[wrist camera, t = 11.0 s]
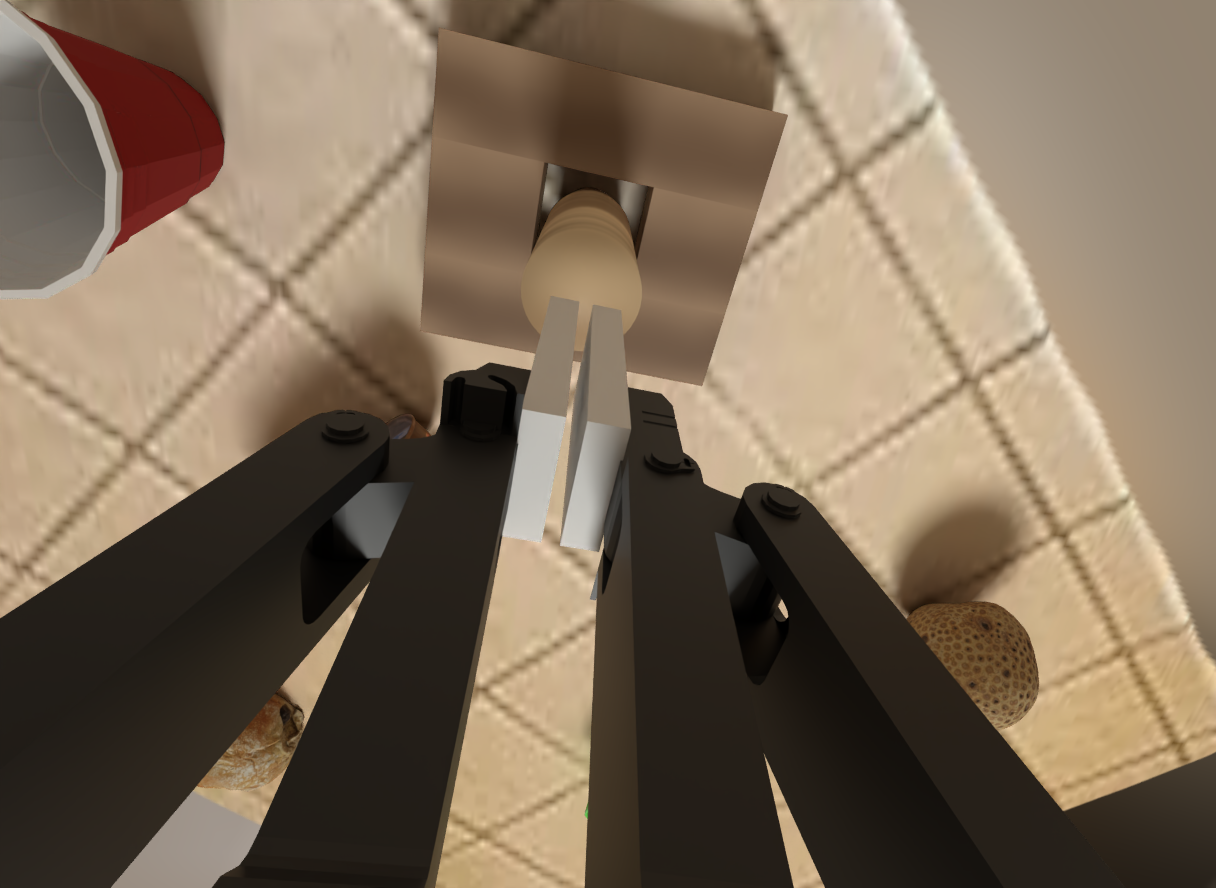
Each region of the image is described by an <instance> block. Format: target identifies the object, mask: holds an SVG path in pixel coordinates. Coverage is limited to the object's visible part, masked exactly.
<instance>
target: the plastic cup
mask: <svg viewBox="0 0 1216 888" xmlns="http://www.w3.org/2000/svg"><path fill="white" fill-rule="evenodd" d="M223 156H224V140H223V136H222V133H221V130H220V126H219V123H218V120H217V117H216V116H215V114H214V113H213V112H212V110H211V109H210V107H209V106H208V104H207V103H206V101H205V100H204V98H203V97H202V95H201V94H200V93H198V92H197V91H196V90H195V89H194V88H192V87H191V86H190V85H189V84H188V83H186V82H185V81H184V80H183V79H182V78H180V77H179V76H176V75H175V74H174V73H173V72H170V71H168V70H165V69H163V68H160V67H158V66H155V65H153V64H150V63H148V62H145V61H142V60H139V59H136V58H134V57H131V56H129V55H126V54H124V53H121V52H119V51H116V50H114V49H111V48H109V47H106V46H104V45H101V44H98V43H95V42H93V41H90V40H87V39H84V38H82V37H79V36H76V35H73V34H71V33H68V32H65V31H62V30H60V29H57V28H54V27H52V26H49V25H47V24H45V23H43V22H40V21H38V20H35V19H33V18H30V17H29V16H28V15H27V14H25V13H24V12H22V11H20V10H19V9H18V8H16V7H15V6H14V5H13V4H12V3H10V2H9V1H8V0H0V299H45V298H49V297H51V296H53V295H55V294H57V293H59V292H61V291H62V290H64V289H66V288H68V287H70V286H72V285H74V284H76V283H77V282H79V281H81V280H83V279H85V278H87V277H89V276H90V275H92V274H93V273H95V272H96V271H97V270H98V268H99V266H100V264H101V263H102V261H103V259H104V257H105V256H106V255H107V254H109V253H111V252H113V251H114V249H115V248H116V247H118V246H120V245H122V244H123V243H125V242H127V241H128V240H129V238H130V237H131V236H132V235H134V234H136V233H138V232H139V231H141V230H143V229H144V228H146V227H148V226H149V225H151V224H153V223H154V222H156V221H158V220H159V219H161V218H163V217H164V216H166V215H168V214H169V213H171V212H173V211H174V210H176V209H178V208H179V207H181V206H183V205H184V204H186V203H187V202H188V200H189V199H190V198H191V197H193V196H194V195H196V194H198V193H199V192H201V191H203V190H204V189H206V188H208V187H209V186H210V184H211V183H212V182H213V181H214V179H215V177H216V176H217V174H218V172H219V170H220V169H221V167H222V165H223Z"/></svg>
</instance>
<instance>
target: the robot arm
mask: <svg viewBox="0 0 1216 888" xmlns="http://www.w3.org/2000/svg"><path fill="white" fill-rule="evenodd" d="M578 310H579V301H574V300H569V299H565V298H560V297H555V296H551V297H550V301H549V304H548V308H547V312H546V316H545V320H544V324H543V328H542V331H541V335H540V339H539V343H538V347H537V351H536V355H535V358H534V362H533V366H532V370H526V369H521V368H516V367H511V366H505V365H500V364H495V363H490V362H489V363H487V364H486V365H484V366H482V367H480V368H478V369H476V370H468V371H459V372H456V373H453V374H450V375H449V376H448V377H447V378H446V379H445V380H444V384H443V396H442V407H441V419H440V425H439V428H438V430H437V432H436V434H435V435H432V436H428V437H423V438H413V439H390V433H389V427H388V426H387V425H386V424H385V423H384V422H383V421H382V420H381V419H379V418H377V417H374V416H372V415H370V414H366V413H361V412H357V411H352V410H347V411H345V410H336V411H332V412H327V413H321V414H318V415H316V416H313V417H311V418H309V419H307V420H305V421H304V422H302V423H301V424H299V425H297V426H296V427H294V428H293V429H291V430H290V431H288V432H287V433H285V434H284V435H282V436H280V437H279V438H277V439H276V440H274V441H273V442H271V443H270V444H268V445H267V446H265V447H264V448H262V449H260V450H259V451H257V452H256V453H254V454H253V455H251V456H250V457H248V458H247V459H245V460H244V461H242V462H240V463H239V464H237V465H236V466H234V467H233V468H231V469H230V470H228V471H227V472H225V473H224V474H222V475H220V476H219V477H217V478H216V479H214V480H213V481H211V482H210V483H208V484H207V485H205V486H203V487H202V488H200V489H199V490H197V491H196V492H194V493H193V494H191V495H190V496H188V497H187V498H185V499H183V500H182V501H180V502H179V503H177V504H176V505H174V506H173V507H171V508H170V509H168V510H167V511H165V512H163V513H162V514H160V515H159V516H157V517H156V518H154V519H153V520H151V521H150V522H148V523H147V524H145V525H143V526H142V527H140V528H139V529H137V530H136V531H134V532H133V533H131V534H130V535H128V536H126V537H125V538H123V539H122V540H120V541H119V542H117V543H116V544H114V545H113V546H111V547H110V548H108V549H106V550H105V551H103V552H102V553H100V554H99V555H97V556H96V557H94V558H93V559H91V560H90V561H88V562H86V563H85V564H83V565H82V566H80V567H79V568H77V569H76V570H74V571H73V572H71V573H70V574H68V575H66V576H65V577H63V578H62V579H60V580H59V581H57V582H56V583H54V584H53V585H51V586H49V587H48V588H46V589H45V590H43V591H42V592H40V593H39V594H37V595H36V596H34V597H33V598H31V599H29V600H28V601H26V602H25V603H23V604H22V605H20V606H19V607H17V608H16V609H14V610H13V611H11V612H9V613H8V614H6V615H5V616H3V617H2V618H0V888H111V887H112V885H113V884H114V883H115V882H116V881H117V879H118V878H119V877H120V876H121V875H122V873H123V872H124V871H125V870H126V869H127V868H128V866H129V865H130V864H131V863H132V862H133V861H134V859H135V858H136V857H137V856H138V855H139V853H140V852H141V851H142V850H143V849H144V848H145V846H146V845H147V844H148V843H149V842H150V840H151V839H152V838H153V837H154V836H155V834H156V833H157V832H158V831H159V830H160V829H161V827H162V826H163V825H164V824H165V823H166V822H167V820H168V819H169V818H170V817H171V816H172V814H173V813H174V812H175V811H176V810H177V809H178V807H179V806H180V805H181V804H182V803H183V801H184V800H185V799H186V798H187V797H188V796H189V794H190V793H191V792H192V791H193V790H194V788H195V787H196V786H197V785H198V784H199V783H200V781H201V780H202V779H203V778H204V777H205V776H206V774H207V773H208V772H209V771H210V770H211V768H212V767H213V766H214V765H215V764H216V763H217V761H218V760H219V759H220V758H221V757H222V755H223V754H224V753H225V752H226V751H227V750H228V748H229V747H230V746H231V745H232V744H233V742H234V741H235V740H236V739H237V738H238V737H239V735H240V734H241V733H242V732H243V731H244V729H245V728H246V727H247V726H248V725H249V724H250V722H251V721H252V720H253V719H254V718H255V716H256V715H257V714H258V713H259V712H260V711H261V709H262V708H263V707H264V706H265V705H266V703H267V702H268V701H269V700H270V699H271V698H272V696H273V695H274V694H275V693H276V692H277V690H278V689H279V688H280V687H281V686H282V685H283V683H284V682H285V681H286V680H287V679H288V677H289V676H290V675H291V674H292V673H293V672H294V670H295V669H296V668H297V667H298V666H299V664H300V663H301V662H302V661H303V660H304V659H305V657H306V656H307V655H308V654H309V653H310V651H311V650H312V649H313V648H314V647H315V646H316V644H317V643H318V642H319V641H320V640H321V638H322V637H323V636H324V635H325V634H326V633H327V631H328V630H329V629H330V628H331V627H332V625H333V624H334V623H335V622H336V621H337V620H338V618H339V617H340V616H341V615H342V614H343V612H344V611H345V610H346V609H347V608H348V607H349V605H350V604H351V603H352V602H353V601H354V599H355V598H356V597H357V596H358V595H359V594H360V592H361V591H362V590H363V589H364V588H365V586H366V585H367V584H368V583H369V582H370V583H369V585H368V587H367V589H366V592H365V594H364V596H363V598H362V601H361V603H360V605H359V607H358V610H357V612H356V614H355V616H354V619H353V621H352V623H351V625H350V628H349V630H348V632H347V634H346V637H345V639H344V641H343V643H342V646H341V648H340V650H339V652H338V655H337V657H336V659H335V661H334V664H333V666H332V668H331V670H330V673H329V675H328V677H327V679H326V682H325V684H324V686H323V688H322V691H321V693H320V695H319V697H318V700H317V702H316V704H315V706H314V709H313V711H312V713H311V715H310V718H309V720H308V722H307V724H306V727H305V729H304V731H303V733H302V736H301V738H300V740H299V742H298V745H297V747H296V749H295V751H294V754H293V756H292V758H291V760H290V763H289V765H288V767H287V769H286V772H285V774H284V776H283V778H282V781H281V783H280V785H279V787H278V790H277V792H276V794H275V796H274V799H273V801H272V803H271V805H270V808H269V810H268V812H267V814H266V817H265V819H264V821H263V823H262V826H261V828H260V830H259V833H258V834H257V837H256V839H255V841H254V843H253V845H252V847H251V849H250V850H249V852H248V854H247V856H246V857H245V858H244V860H243V861H242V862H241V864H240V865H239V866H238V867H236V868H234V869H232V870H230V871H229V872H227V873H225V874H224V875H222V876H220V878H219V879H218V880H217V882H216V883H215V884H214V886H213V887H212V888H435V885H436V880H437V874H438V869H439V864H440V859H441V854H442V848H443V843H444V838H445V833H446V828H447V822H448V817H449V812H450V807H451V802H452V796H453V791H454V786H455V781H456V776H457V770H458V765H459V760H460V755H461V750H462V744H463V739H464V734H465V729H466V724H467V718H468V713H469V708H470V703H471V698H472V693H473V687H474V682H475V677H476V672H477V667H478V661H479V656H480V651H481V646H482V641H483V635H484V630H485V625H486V620H487V615H488V609H489V604H490V599H491V594H492V589H493V583H494V578H495V573H496V568H497V563H498V557H499V552H500V546H501V539H502V536H504V537H510V538H516V539H523V540H529V541H535V542H541V540H542V535H543V530H544V525H545V520H546V515H547V511H548V506H549V501H550V496H551V491H552V486H553V481H554V476H555V471H556V466H557V461H558V456H559V451H560V446H561V441H562V436H563V431H564V426H565V421H566V415H567V406H568V397H569V389H570V380H571V371H572V362H573V354H574V345H575V336H576V327H577V319H578ZM603 534H604V549H603V552H602V556H601V560H600V564H599V567H598V571H597V575H596V579H595V582H594V586H593V590H592V594H591V597H590V599H591V600H596V598H597V607H596V631H595V655H594V678H593V702H592V726H591V750H590V774H589V798H588V822H587V846H586V869H585V888H794V887H793V882H792V878H791V873H790V869H789V864H788V860H787V855H786V851H785V846H784V842H783V837H782V833H781V828H780V824H779V819H778V815H777V810H776V806H775V801H774V797H773V792H772V788H771V783H770V779H769V774H768V770H767V766H766V761H765V757H766V759H767V761H768V763H769V765H770V768H771V770H772V772H773V774H774V776H775V779H776V781H777V783H778V785H779V787H780V790H781V792H782V794H783V796H784V798H785V801H786V803H787V805H788V807H789V809H790V812H791V814H792V816H793V818H794V820H795V823H796V825H797V827H798V829H799V831H800V833H801V836H802V838H803V840H804V842H805V844H806V847H807V849H808V851H809V853H810V855H811V858H812V860H813V862H814V864H815V866H816V869H817V871H818V873H819V875H820V877H821V880H822V882H823V884H824V886H825V888H1125V887H1124V885H1123V884H1122V883H1121V882H1120V880H1119V879H1118V878H1117V877H1116V875H1115V874H1114V873H1113V872H1112V871H1111V869H1110V868H1109V867H1108V866H1107V865H1106V863H1105V862H1104V861H1103V860H1102V858H1101V857H1100V856H1099V855H1098V853H1097V852H1096V851H1095V850H1094V849H1093V847H1092V846H1091V845H1090V844H1089V842H1088V841H1087V840H1086V839H1085V838H1084V836H1083V835H1082V834H1081V833H1080V832H1079V830H1078V829H1077V828H1076V827H1075V825H1074V824H1073V823H1072V822H1071V820H1070V819H1069V818H1068V817H1067V816H1066V814H1065V813H1064V812H1063V811H1062V809H1061V808H1060V807H1059V806H1058V804H1057V803H1056V802H1055V801H1054V800H1053V798H1052V797H1051V796H1050V795H1049V793H1048V792H1047V791H1046V790H1045V789H1044V787H1043V786H1042V785H1041V784H1040V782H1039V781H1038V780H1037V779H1036V778H1035V776H1034V775H1033V774H1032V773H1031V771H1030V770H1029V769H1028V768H1027V766H1026V765H1025V764H1024V763H1023V762H1022V760H1021V759H1020V758H1019V757H1018V755H1017V754H1016V753H1015V752H1014V751H1013V749H1012V748H1011V747H1010V746H1009V744H1008V743H1007V742H1006V741H1005V740H1004V738H1003V737H1002V736H1001V735H1000V733H999V732H998V731H997V730H996V729H995V727H994V726H993V725H992V724H991V722H990V721H989V720H988V719H987V717H986V716H985V715H984V714H983V713H982V711H981V710H980V709H979V708H978V706H977V705H976V704H975V703H974V702H973V700H972V699H971V698H970V697H969V695H968V694H967V693H966V692H965V691H964V689H963V688H962V687H961V686H960V684H959V683H958V682H957V681H956V680H955V678H954V677H953V676H952V675H951V673H950V672H949V671H948V670H947V669H946V667H945V666H944V665H943V664H942V662H941V661H940V660H939V659H938V657H937V656H936V655H935V654H934V653H933V651H932V650H931V649H930V648H929V646H928V645H927V644H926V643H925V642H924V640H923V639H922V638H921V637H920V635H919V634H918V633H917V632H916V631H915V629H914V628H913V627H912V626H911V624H910V623H909V622H908V621H907V620H906V618H905V617H904V616H903V615H902V613H901V612H900V611H899V610H898V609H897V607H896V606H895V605H894V604H893V602H892V601H891V600H890V599H889V597H888V596H887V595H886V594H885V593H884V591H883V590H882V589H881V588H880V586H879V585H878V584H877V583H876V582H875V580H874V579H873V578H872V577H871V575H870V574H869V573H868V572H867V571H866V569H865V568H864V567H863V566H862V564H861V563H860V562H859V561H858V560H857V558H856V557H855V556H854V555H853V553H852V552H851V551H850V550H849V548H848V547H847V546H846V545H845V544H844V542H843V541H842V540H841V539H840V537H839V536H838V535H837V534H836V533H835V531H834V530H833V529H832V528H831V526H830V525H829V524H828V523H827V522H826V520H825V519H824V518H823V517H822V515H821V514H820V513H819V512H818V511H817V509H816V508H815V507H814V506H813V505H812V504H811V503H810V502H809V501H808V500H807V499H806V498H805V497H803V496H801V495H799V494H798V493H796V492H795V491H794V490H792V489H790V488H788V487H784V486H782V485H779V484H770V483H753V484H751V485H749V486H747V487H746V488H745V490H744V492H743V495H742V498H741V499H739V498H736V497H734V496H731V495H728V494H726V493H723V492H720V491H718V490H716V489H713V488H711V487H709V486H707V485H706V484H704V483H703V478H702V474H701V470H700V468H699V466H698V464H697V463H696V462H695V461H694V460H693V459H692V458H691V457H690V456H688V455H687V454H685V453H683V450H682V446H681V441H680V437H679V432H678V429H677V423H676V419H675V414H674V410H673V406H672V404H671V403H670V402H669V401H668V400H667V399H666V398H665V397H664V396H663V395H662V394H660V393H655V392H650V391H644V390H639V389H634V388H629V387H628V385H627V373H626V361H625V349H624V337H623V326H622V314H621V310H618V309H613V308H608V307H603V306H598V305H594V304H593V307H592V312H591V317H590V322H589V326H588V331H587V336H586V341H585V346H584V351H583V356H582V361H581V366H580V370H579V375H578V380H577V385H576V390H575V395H574V403H573V414H572V424H571V435H570V445H569V456H568V466H567V476H566V487H565V497H564V508H563V518H562V529H561V539H560V546H566V547H572V548H578V549H585V550H591V551H597V552H599V550H600V546H601V542H602V538H603ZM781 599H782V600H783V602H784V604H785V606H786V609H787V611H788V618H787V619H786V618H785V617H784V615H783V614H782V612H781V611H780V609H779V607H778V606H779V603H780V601H781ZM764 754H765V757H764Z"/></svg>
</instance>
